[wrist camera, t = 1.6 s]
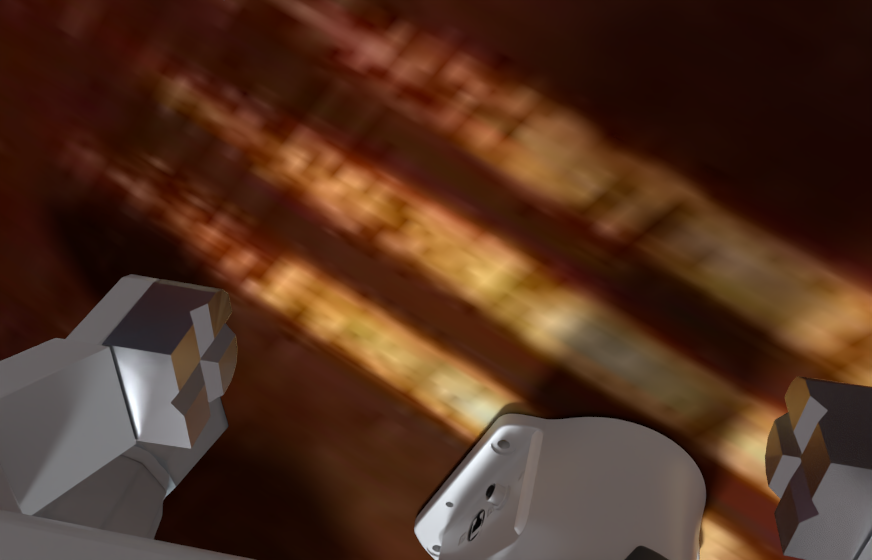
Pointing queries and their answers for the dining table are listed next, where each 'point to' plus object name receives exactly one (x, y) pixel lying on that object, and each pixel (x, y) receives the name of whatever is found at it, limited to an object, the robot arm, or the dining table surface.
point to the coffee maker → (134, 484)
